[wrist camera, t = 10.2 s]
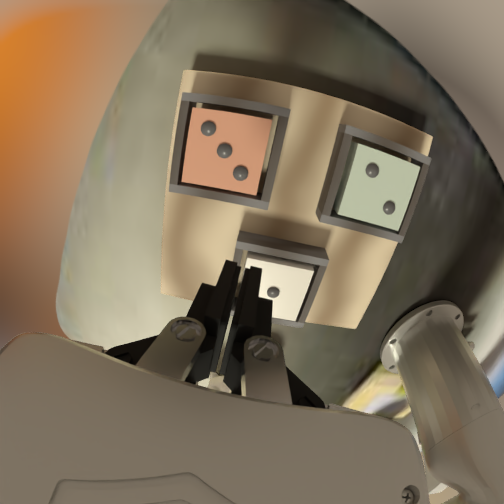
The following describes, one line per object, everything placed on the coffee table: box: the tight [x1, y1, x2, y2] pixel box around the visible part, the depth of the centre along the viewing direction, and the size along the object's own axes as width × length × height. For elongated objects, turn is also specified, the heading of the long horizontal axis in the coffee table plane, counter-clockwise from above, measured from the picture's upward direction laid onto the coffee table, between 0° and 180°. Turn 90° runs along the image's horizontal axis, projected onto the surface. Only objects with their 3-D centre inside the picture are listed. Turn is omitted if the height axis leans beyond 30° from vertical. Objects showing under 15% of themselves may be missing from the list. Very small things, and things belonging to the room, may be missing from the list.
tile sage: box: [333, 141, 420, 231], centre depth 18 cm, size 5×5×2 cm
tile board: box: [161, 70, 433, 329], centre depth 21 cm, size 20×20×4 cm
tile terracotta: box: [182, 107, 272, 195], centre depth 18 cm, size 5×5×2 cm
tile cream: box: [239, 251, 314, 321], centre depth 23 cm, size 5×5×2 cm
